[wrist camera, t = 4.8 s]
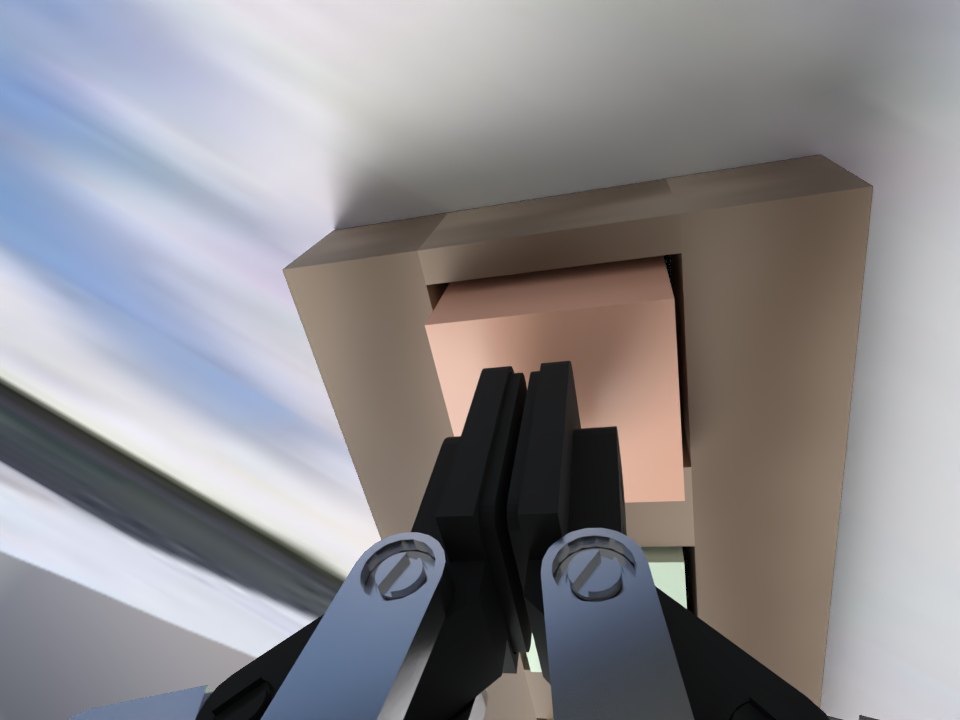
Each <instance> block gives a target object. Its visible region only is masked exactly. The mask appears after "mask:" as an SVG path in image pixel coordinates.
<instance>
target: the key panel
mask: <svg viewBox="0 0 960 720" xmlns="http://www.w3.org/2000/svg"><path fill="white" fill-rule="evenodd" d="M872 192H873V186H872V185H870V184H868V183H867V182H865V181H864V180H862V179H860V178H859V177H857V176H855V175H854V174H852V173H850V172H849V171H847V170H845V169H844V168H842V167H841V166H839V165H837V164H836V163H834V162H832V161H831V160H829V159H827V158H826V157H824V156H822V155H815V156H808V157H802V158H796V159H789V160H783V161H776V162H770V163H764V164H757V165H751V166H744V167H738V168H732V169H725V170H719V171H712V172H706V173H700V174H693V175H687V176H680V177H674V178H668V179H661V180H655V181H648V182H642V183H635V184H629V185H623V186H616V187H610V188H603V189H597V190H591V191H584V192H578V193H571V194H565V195H559V196H552V197H546V198H539V199H533V200H527V201H520V202H514V203H507V204H501V205H495V206H488V207H482V208H475V209H469V210H463V211H456V212H450V213H443V214H437V215H430V216H424V217H418V218H411V219H405V220H398V221H392V222H386V223H379V224H373V225H366V226H360V227H354V228H347V229H341V230H334V231H332V232H331V233H329V234H328V235H327V236H326V237H324V238H323V239H322V240H320V241H319V242H318V243H316V244H315V245H314V246H313V247H311V248H310V249H309V250H307V251H306V252H305V253H303V254H302V255H301V256H300V257H298V258H297V259H296V260H294V261H293V262H292V263H290V264H289V265H288V266H287V267H285V268H284V269H283V273H284V276H285V278H286V281H287V284H288V287H289V289H290V292H291V295H292V298H293V300H294V303H295V306H296V308H297V311H298V314H299V317H300V319H301V322H302V325H303V327H304V330H305V333H306V336H307V338H308V341H309V344H310V347H311V349H312V352H313V355H314V357H315V360H316V363H317V366H318V368H319V371H320V374H321V376H322V379H323V382H324V385H325V387H326V390H327V393H328V396H329V398H330V401H331V404H332V406H333V409H334V412H335V415H336V417H337V420H338V423H339V425H340V428H341V431H342V434H343V436H344V439H345V442H346V444H347V447H348V450H349V453H350V455H351V458H352V461H353V464H354V466H355V469H356V472H357V474H358V477H359V480H360V483H361V485H362V488H363V491H364V493H365V496H366V499H367V502H368V504H369V507H370V510H371V513H372V515H373V518H374V521H375V523H376V526H377V529H378V532H379V534H380V537H381V540H383V539H385V538H387V537H389V536H392V535H396V534H400V533H405V532H411V530H412V527H413V524H414V522H415V519H416V516H417V513H418V510H419V508H420V505H421V502H422V499H423V496H424V494H425V491H426V488H427V485H428V482H429V479H430V477H431V474H432V471H433V468H434V465H435V463H436V460H437V457H438V454H439V451H440V448H441V446H442V443H443V441H444V439H445V438H447V437H454V434H453V431H452V427H451V423H450V419H449V415H448V412H447V408H446V404H445V400H444V397H443V393H442V389H441V385H440V381H439V378H438V374H437V370H436V366H435V362H434V359H433V355H432V351H431V347H430V344H429V340H428V336H427V332H426V328H425V324H426V322H427V321H428V319H429V317H430V315H431V314H432V312H433V310H434V309H435V307H436V305H437V304H438V302H439V300H440V299H441V297H442V295H443V293H444V292H445V290H446V288H447V287H448V285H449V283H450V282H455V281H463V280H471V279H479V278H487V277H495V276H503V275H511V274H519V273H527V272H535V271H543V270H551V269H559V268H567V267H574V266H582V265H590V264H598V263H606V262H614V261H622V260H630V259H638V258H646V257H654V256H662V255H670V260H671V279H672V291H673V295H674V301H675V320H676V339H677V359H678V378H679V397H680V416H681V435H682V454H683V473H684V492H685V501H665V502H628V503H625V514H626V531H627V536H628V537H630V538H631V539H632V540H633V541H635V542H636V543H637V544H638V545H639V546H640V547H671V546H686V557H687V576H688V594H689V595H686V601H687V610H689V611H690V612H692V613H693V614H694V615H696V616H697V617H698V618H700V619H701V620H703V621H704V622H705V623H707V624H708V625H709V626H711V627H712V628H713V629H715V630H716V631H718V632H719V633H720V634H722V635H723V636H724V637H726V638H727V639H729V640H730V641H731V642H733V643H734V644H735V645H737V646H738V647H740V648H741V649H742V650H744V651H745V652H746V653H748V654H749V655H750V656H752V657H753V658H755V659H756V660H757V661H759V662H760V663H761V664H763V665H764V666H766V667H767V668H768V669H770V670H771V671H772V672H774V673H775V674H777V675H778V676H779V677H781V678H782V679H783V680H785V681H786V682H787V683H789V684H790V685H792V686H793V687H794V688H796V689H797V690H798V691H800V692H801V693H803V694H804V695H805V696H807V697H808V698H809V699H810V700H811V701H812V702H813V703H814V704H815V705H817V706H818V707H819V708H820V701H821V691H822V681H823V671H824V662H825V652H826V642H827V632H828V622H829V613H830V603H831V593H832V583H833V574H834V564H835V554H836V544H837V534H838V525H839V515H840V505H841V495H842V485H843V476H844V466H845V456H846V446H847V436H848V427H849V417H850V407H851V397H852V388H853V378H854V368H855V358H856V348H857V339H858V329H859V319H860V309H861V299H862V290H863V280H864V270H865V260H866V250H867V241H868V231H869V221H870V211H871V202H872ZM487 691H488V701H487V707H486V711H485V715H484V718H483V720H547V719H554V718H553V706H552V695H551V685H550V684H549V683H548V682H547V681H546V680H545V678H544V677H543V674H542V672H531V670H530V666H529V662H528V658H527V654H526V652H519V657H518V666H517V674H510V673H502V676H501V677H500V678H498V679H497V680H496V681H495V682H493V683H492V684H491V685H490V686H489V687H487Z"/></svg>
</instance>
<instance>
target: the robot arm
mask: <svg viewBox="0 0 960 720" xmlns="http://www.w3.org/2000/svg"><path fill="white" fill-rule="evenodd" d="M532 633H533V637H534V641H535V646H536V650H537V654H538V658H539V662H540V666H541V670H542V674H543V677H544V678H545V680H546V681H547V682H548V683H549V684H550V685H551V695H552V706H553V718H554V720H842V719H838V718H834V717H830V716H827V715H826V714H825V713H824V712H823V711H822V710H821V709H820V708H819V707H818V706H817V705H815V704H814V703H813V702H812V701H811V700H810V699H809V698H808V697H807V696H805V695H804V694H803V693H801V692H800V691H798V690H797V689H796V688H794V687H793V686H792V685H790V684H789V683H787V682H786V681H785V680H783V679H782V678H781V677H779V676H778V675H777V674H775V673H774V672H772V671H771V670H770V669H768V668H767V667H766V666H764V665H763V664H761V663H760V662H759V661H757V660H756V659H755V658H753V657H752V656H750V655H749V654H748V653H746V652H745V651H744V650H742V649H741V648H740V647H738V646H737V645H735V644H734V643H733V642H731V641H730V640H729V639H727V638H726V637H724V636H723V635H722V634H720V633H719V632H718V631H716V630H715V629H713V628H712V627H711V626H709V625H708V624H707V623H705V622H704V621H703V620H701V619H700V618H698V617H697V616H696V615H694V614H693V613H692V612H690V611H689V610H687V609H686V608H685V607H683V606H682V605H681V604H679V603H678V602H676V601H675V600H674V599H672V598H671V597H670V596H668V595H667V594H666V593H664V592H663V591H661V590H660V589H659V588H657V587H656V586H655V584H654V581H653V577H652V574H651V570H650V567H649V564H648V560H647V558H646V556H645V554H644V552H643V550H642V548H641V547H640V546H639V545H638V544H637V543H636V542H635V541H633V540H632V539H631V538H630V537H628V536H627V531H626V514H625V499H624V486H623V475H622V465H621V456H620V447H619V438H618V430H617V426H612V427H596V428H581V423H580V417H579V410H578V403H577V396H576V390H575V383H574V376H573V370H572V364H571V361H560V362H549V363H541V366H540V371H533V372H531V373H530V377H529V383H528V388H527V386H526V381H525V376H524V374H523V372H522V373H514V370H513V368H512V366H506V367H495V368H484V369H482V371H481V374H480V377H479V381H478V384H477V387H476V390H475V393H474V396H473V400H472V403H471V406H470V409H469V412H468V415H467V418H466V422H465V425H464V428H463V431H462V434H461V436H456V437H447V438H445V439H444V441H443V443H442V446H441V448H440V451H439V454H438V457H437V460H436V463H435V465H434V468H433V471H432V474H431V477H430V479H429V482H428V485H427V488H426V491H425V494H424V496H423V499H422V502H421V505H420V508H419V510H418V513H417V516H416V519H415V522H414V524H413V527H412V530H411V532H405V533H400V534H396V535H392V536H389V537H387V538H385V539H383V540H381V541H379V542H377V543H375V544H374V545H373V546H372V547H370V548H369V549H368V550H367V551H365V552H364V553H363V555H362V556H361V557H360V558H359V560H358V561H357V562H356V564H355V565H354V567H353V568H352V570H351V572H350V573H349V575H348V577H347V578H346V580H345V582H344V583H343V585H342V587H341V588H340V590H339V591H338V593H337V595H336V596H335V598H334V600H333V601H332V603H331V605H330V606H329V608H328V610H327V611H326V613H325V614H324V615H322V616H321V617H319V618H318V619H316V620H315V621H313V622H312V623H310V624H308V625H307V626H305V627H304V628H302V629H301V630H299V631H298V632H296V633H295V634H293V635H292V636H290V637H289V638H287V639H286V640H284V641H283V642H281V643H280V644H278V645H277V646H275V647H274V648H272V649H271V650H269V651H267V652H266V653H264V654H263V655H261V656H260V657H258V658H257V659H255V660H254V661H252V662H251V663H249V664H248V665H246V666H245V667H243V668H242V669H240V670H239V671H237V672H236V673H234V674H233V675H231V676H230V677H229V678H228V679H227V680H225V681H224V682H223V683H222V684H220V685H219V686H218V687H217V688H216V689H215V691H214V692H212V691H211V690H210V688H209V687H208V686H207V685H206V686H200V687H195V688H190V689H186V690H180V691H176V692H170V693H165V694H160V695H155V696H150V697H146V698H141V699H136V700H131V701H126V702H121V703H116V704H111V705H106V706H101V707H96V708H92V709H89V710H86V711H84V712H81V713H78V714H76V715H74V716H73V717H71V718H70V719H68V720H483V718H484V715H485V711H486V707H487V701H488V691H487V687H489V686H490V685H491V684H492V683H493V682H495V681H496V680H497V679H498V678H500V677H501V676H502V673H510V674H517V666H518V657H519V652H529V651H530V646H531V638H532ZM859 720H878V719H874V718H870V717H866V716H862V715H859Z"/></svg>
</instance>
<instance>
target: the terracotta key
mask: <svg viewBox="0 0 960 720" xmlns="http://www.w3.org/2000/svg"><path fill="white" fill-rule="evenodd" d="M425 328H426V332H427V336H428V340H429V344H430V347H431V351H432V355H433V359H434V362H435V366H436V370H437V374H438V378H439V381H440V385H441V389H442V393H443V397H444V400H445V404H446V408H447V412H448V415H449V419H450V423H451V427H452V431H453V434H454V437H456V436H461V434H462V431H463V428H464V425H465V422H466V418H467V415H468V412H469V409H470V406H471V403H472V400H473V396H474V393H475V390H476V387H477V384H478V381H479V377H480V374H481V371H482V369H484V368H495V367H506V366H512V368H513V370H514V373H522V372H523V374H524V376H525V381H526V386H527V388H528V383H529V377H530V373H531V372H533V371H540V366H541V363H549V362H560V361H571V364H572V370H573V376H574V383H575V390H576V396H577V403H578V410H579V417H580V423H581V428H596V427H612V426H617V430H618V438H619V447H620V456H621V465H622V475H623V486H624V499H625V503H628V502H665V501H685V492H684V473H683V454H682V435H681V416H680V397H679V378H678V359H677V339H676V320H675V301H674V295H673V291H672V287H671V283H670V279H669V276H668V272H667V268H666V264H665V260H664V256H663V255H662V256H654V257H646V258H638V259H630V260H622V261H614V262H606V263H598V264H590V265H582V266H574V267H567V268H559V269H551V270H543V271H535V272H527V273H519V274H511V275H503V276H495V277H487V278H479V279H471V280H463V281H455V282H450V283H449V285H448V287H447V288H446V290H445V292H444V293H443V295H442V297H441V299H440V300H439V302H438V304H437V305H436V307H435V309H434V310H433V312H432V314H431V315H430V317H429V319H428V321H427V322H426V324H425Z"/></svg>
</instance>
